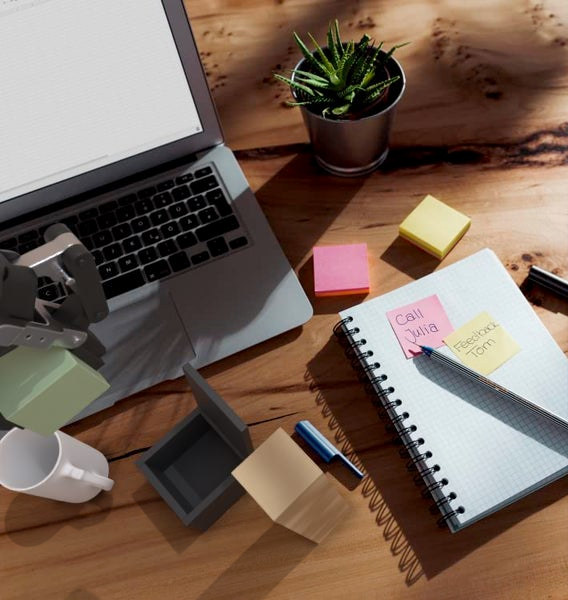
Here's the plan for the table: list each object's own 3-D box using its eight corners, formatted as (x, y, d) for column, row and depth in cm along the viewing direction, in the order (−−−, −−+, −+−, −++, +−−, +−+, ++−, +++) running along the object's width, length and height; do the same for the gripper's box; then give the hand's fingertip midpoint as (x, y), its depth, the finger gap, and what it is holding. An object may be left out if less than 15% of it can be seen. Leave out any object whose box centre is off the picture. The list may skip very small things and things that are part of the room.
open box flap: (241, 432, 61) (248, 426, 61) (181, 366, 64) (187, 361, 64) (250, 463, 69) (256, 458, 69) (196, 404, 72) (202, 399, 72)
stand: (318, 544, 73) (273, 521, 49) (288, 510, 74) (230, 472, 50) (351, 510, 74) (323, 472, 50) (321, 478, 76) (280, 426, 52)
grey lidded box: (205, 531, 73) (186, 526, 67) (156, 473, 76) (133, 462, 70) (267, 472, 76) (254, 461, 70) (217, 417, 79) (201, 402, 72)
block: (48, 438, 39) (5, 420, 35) (8, 386, 40) (-37, 362, 36) (111, 386, 40) (77, 363, 36) (70, 338, 42) (33, 309, 38)
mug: (41, 494, 75) (-22, 477, 64) (71, 438, 78) (15, 413, 67) (119, 523, 74) (68, 511, 63) (147, 465, 76) (103, 444, 66)
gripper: (-43, 91, 28) (119, 272, 43) (-400, 311, 24) (-80, 424, 39) (55, 198, 26) (188, 349, 41) (-322, 461, 22) (-15, 518, 37)
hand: (56, 385), depth 40 cm, fingers closed on block, 4 cm apart
